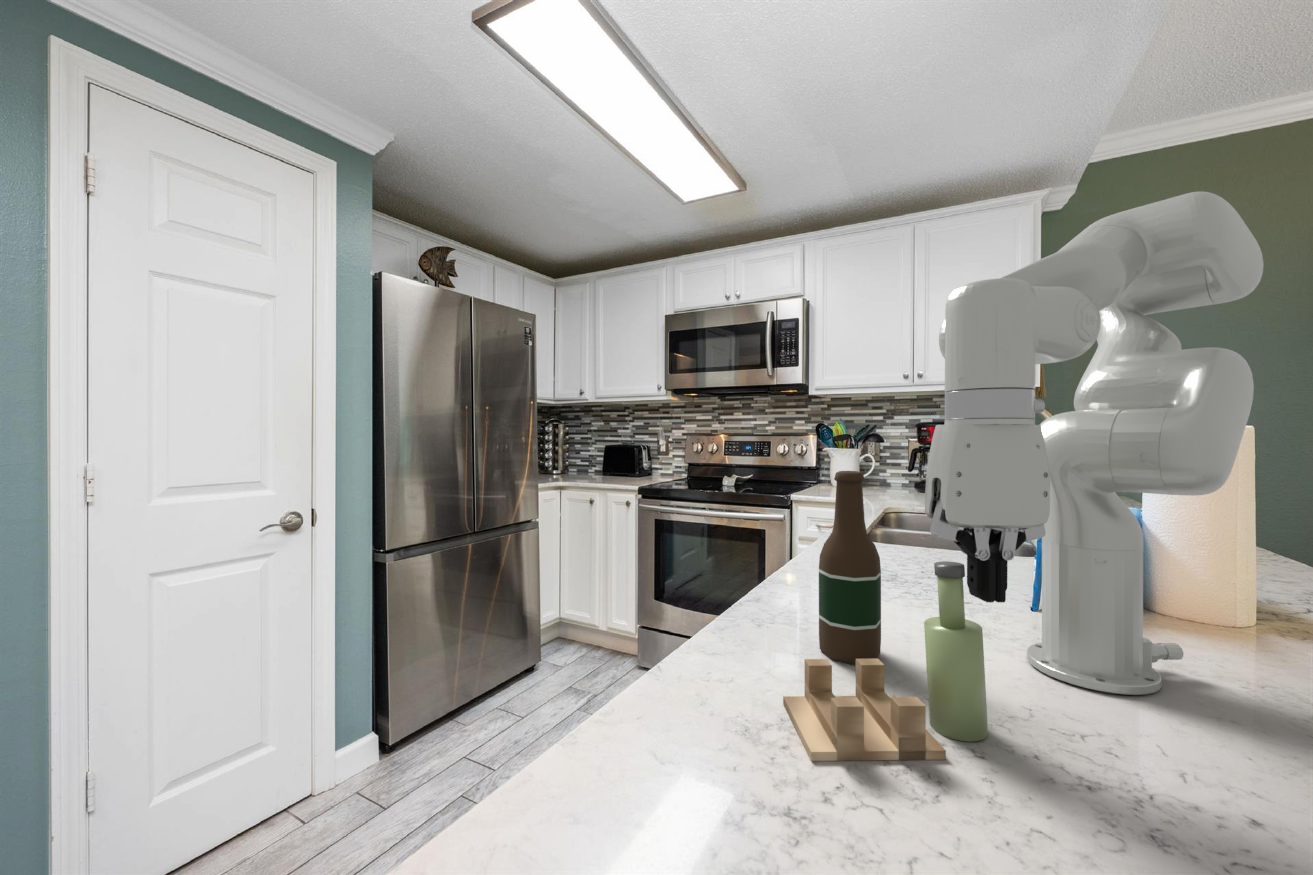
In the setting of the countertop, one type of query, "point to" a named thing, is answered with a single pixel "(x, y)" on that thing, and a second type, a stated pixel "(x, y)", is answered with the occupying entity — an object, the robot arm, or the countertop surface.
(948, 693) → the bottle
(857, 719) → the rest
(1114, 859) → the countertop surface
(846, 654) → the beer bottle
